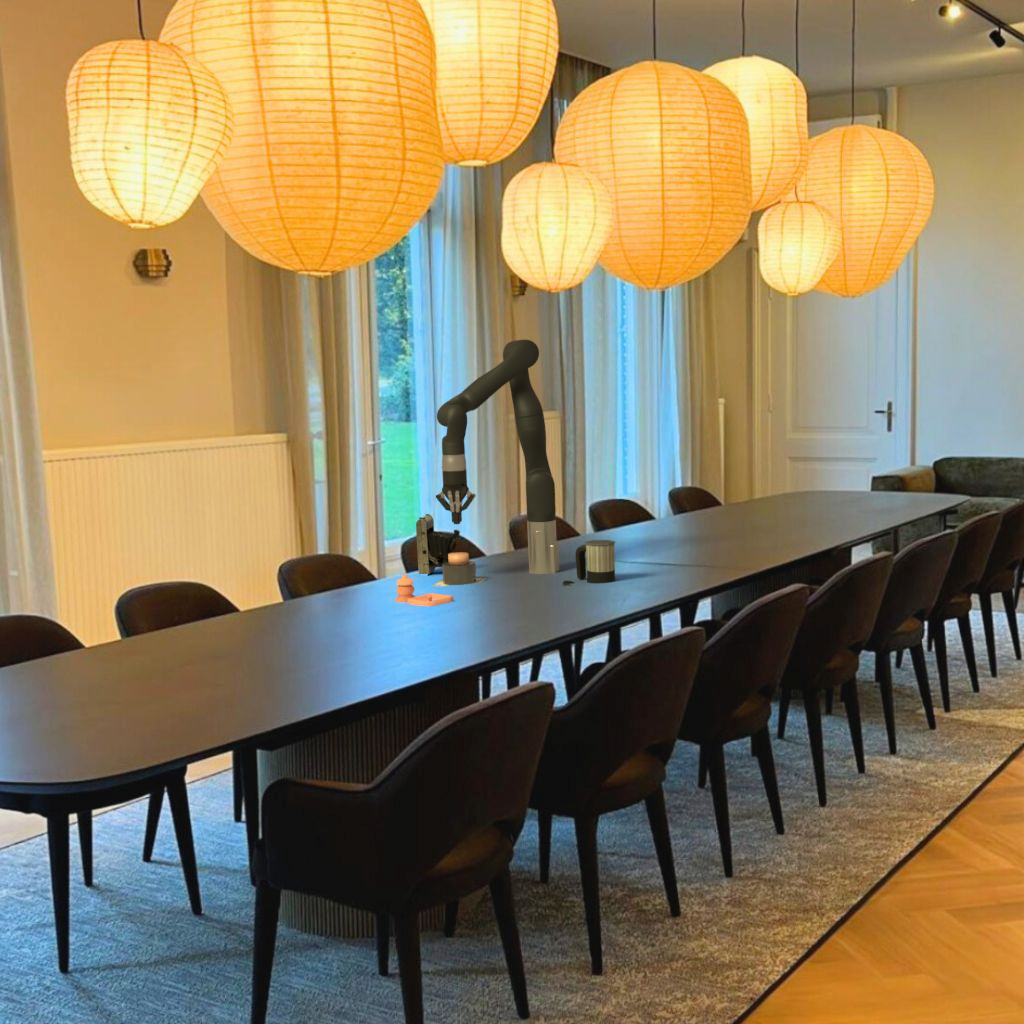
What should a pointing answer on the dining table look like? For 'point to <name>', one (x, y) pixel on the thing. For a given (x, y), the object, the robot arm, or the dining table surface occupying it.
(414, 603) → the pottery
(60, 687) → the dining table surface
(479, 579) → the birch board
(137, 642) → the dining table surface
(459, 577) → the squat olive cylinder
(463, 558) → the tan mushroom shaped knob
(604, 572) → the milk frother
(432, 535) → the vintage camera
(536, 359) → the robot arm
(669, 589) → the dining table surface
